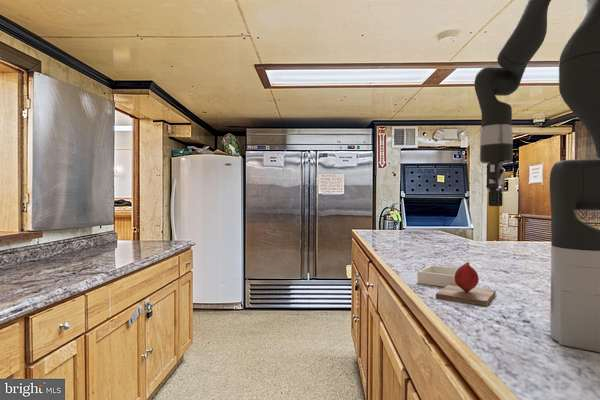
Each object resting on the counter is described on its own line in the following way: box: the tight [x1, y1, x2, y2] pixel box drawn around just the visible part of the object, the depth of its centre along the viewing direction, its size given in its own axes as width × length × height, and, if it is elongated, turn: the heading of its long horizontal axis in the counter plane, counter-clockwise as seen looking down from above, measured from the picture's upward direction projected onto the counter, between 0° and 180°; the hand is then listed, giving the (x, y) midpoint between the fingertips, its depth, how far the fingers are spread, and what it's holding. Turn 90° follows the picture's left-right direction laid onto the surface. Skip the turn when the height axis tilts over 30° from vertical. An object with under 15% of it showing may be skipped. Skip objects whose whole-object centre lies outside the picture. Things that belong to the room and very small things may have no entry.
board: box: [435, 284, 497, 307], centre depth 99 cm, size 13×12×1 cm
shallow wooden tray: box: [416, 264, 459, 288], centre depth 116 cm, size 13×13×4 cm
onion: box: [454, 261, 480, 292], centre depth 99 cm, size 6×6×8 cm
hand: (495, 206), depth 97 cm, fingers open, 8 cm apart
